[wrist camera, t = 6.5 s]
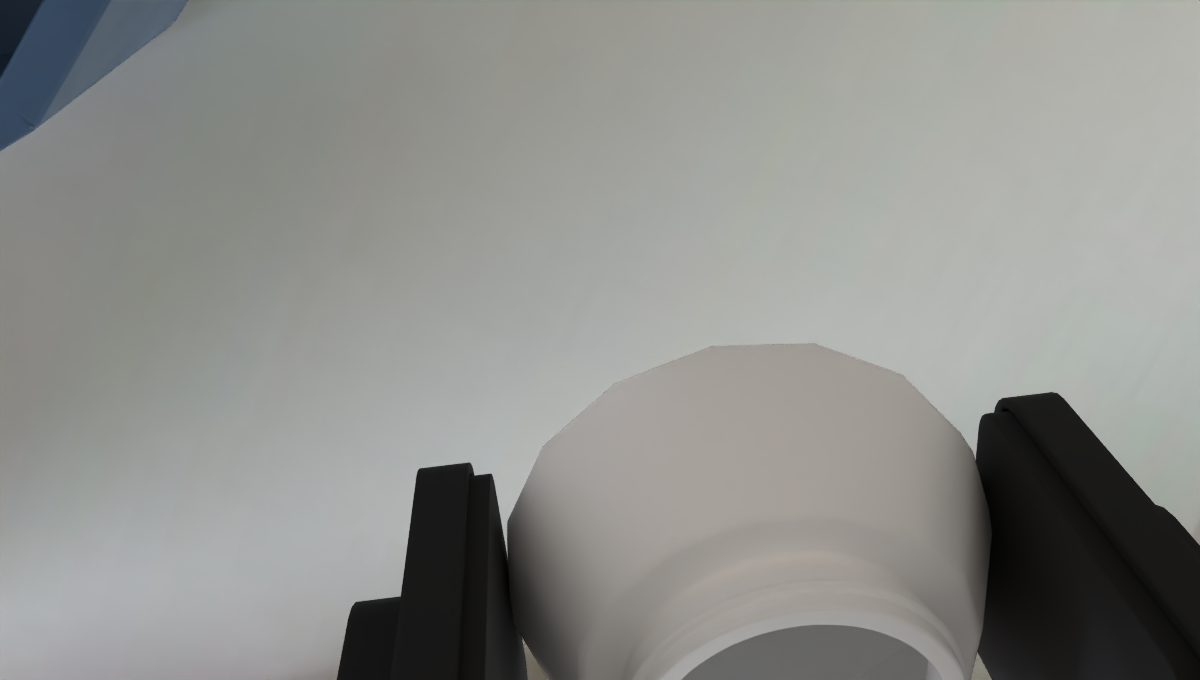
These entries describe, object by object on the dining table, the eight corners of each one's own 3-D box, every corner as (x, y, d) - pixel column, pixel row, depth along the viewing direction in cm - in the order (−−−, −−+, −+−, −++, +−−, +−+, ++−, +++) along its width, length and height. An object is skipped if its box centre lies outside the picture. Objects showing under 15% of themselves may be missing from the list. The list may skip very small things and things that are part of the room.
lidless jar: (429, 431, 11) (610, 736, 13) (403, 641, 8) (633, 974, 11) (899, 250, 10) (1001, 604, 13) (1030, 416, 8) (1127, 821, 10)
